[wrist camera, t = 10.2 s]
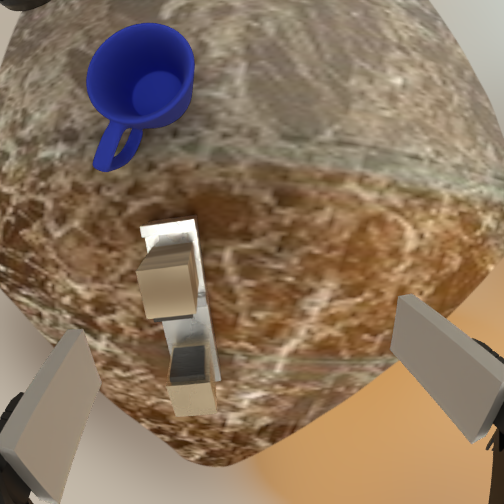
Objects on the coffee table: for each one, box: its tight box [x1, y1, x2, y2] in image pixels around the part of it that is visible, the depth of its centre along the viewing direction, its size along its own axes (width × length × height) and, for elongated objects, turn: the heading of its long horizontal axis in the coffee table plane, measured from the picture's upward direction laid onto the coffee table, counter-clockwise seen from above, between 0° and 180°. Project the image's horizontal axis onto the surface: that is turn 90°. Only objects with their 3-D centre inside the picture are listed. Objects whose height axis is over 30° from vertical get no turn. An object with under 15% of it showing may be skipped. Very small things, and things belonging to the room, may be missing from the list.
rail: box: [140, 215, 221, 417], centre depth 30 cm, size 19×5×10 cm, turn 5°
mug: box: [86, 23, 195, 172], centre depth 24 cm, size 8×12×10 cm
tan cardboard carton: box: [136, 242, 199, 322], centre depth 27 cm, size 5×4×7 cm
